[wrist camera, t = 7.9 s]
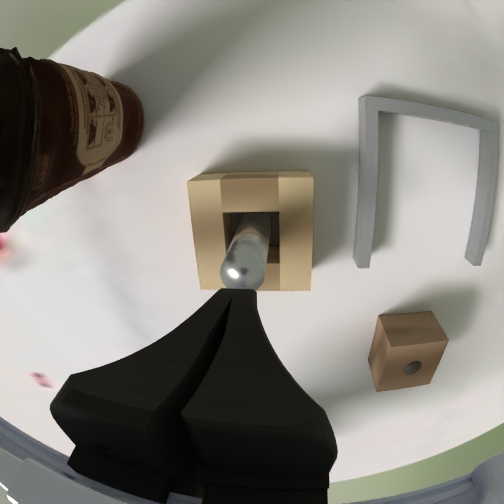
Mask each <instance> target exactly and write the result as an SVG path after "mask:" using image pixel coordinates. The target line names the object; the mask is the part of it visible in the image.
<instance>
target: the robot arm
mask: <svg viewBox="0 0 504 504" xmlns="http://www.w3.org/2000/svg"><path fill="white" fill-rule="evenodd" d="M50 411H51V414H52V416H53V418H54V420H55V421H56V423H57V424H58V425H59V426H60V428H61V429H62V430H63V431H64V432H65V434H66V435H67V436H68V437H69V438H70V439H71V441H72V442H73V443H74V444H75V445H76V446H75V448H74V450H73V452H72V454H71V456H70V457H69V456H67V455H65V454H62V453H60V452H58V451H56V450H55V449H53V448H51V447H49V446H47V445H45V444H43V443H41V442H40V441H38V440H36V439H34V438H33V437H31V436H29V435H28V434H26V433H24V432H23V431H21V430H19V429H18V428H16V427H15V426H13V425H12V424H10V423H9V422H7V421H6V420H4V419H3V418H1V417H0V485H1V486H2V487H3V488H4V489H5V490H7V496H8V499H9V500H10V501H11V502H12V503H13V504H127V503H128V504H328V498H327V489H328V488H329V472H330V470H331V468H332V466H333V464H334V462H335V460H336V458H337V453H338V450H337V444H336V439H335V436H334V432H333V430H332V427H331V424H330V422H329V420H328V417H327V415H326V413H325V410H324V409H323V408H322V407H320V406H319V405H318V404H317V403H316V402H315V401H314V400H313V399H312V398H311V397H310V396H309V395H308V394H307V393H306V392H305V391H304V390H303V389H302V388H301V387H300V386H299V384H298V383H297V382H296V381H295V380H294V378H293V377H292V376H291V374H290V373H289V372H288V371H287V369H286V368H285V367H284V365H283V364H282V362H281V361H280V359H279V358H278V356H277V354H276V353H275V351H274V349H273V347H272V345H271V343H270V342H269V339H268V337H267V335H266V333H265V330H264V328H263V325H262V323H261V320H260V316H259V313H258V309H257V292H256V291H255V290H254V289H233V288H221V289H220V290H218V291H217V292H216V293H215V294H214V295H213V296H212V297H211V298H210V299H209V300H208V301H207V302H206V303H205V304H204V305H203V306H201V307H200V308H199V309H198V310H197V311H196V312H195V313H194V314H193V315H191V316H190V317H189V318H188V319H187V320H185V321H184V322H183V323H182V324H180V325H179V326H178V327H177V328H175V329H174V330H173V331H171V332H170V333H168V334H167V335H165V336H164V337H162V338H161V339H159V340H157V341H156V342H154V343H152V344H151V345H149V346H147V347H145V348H143V349H141V350H139V351H137V352H135V353H133V354H131V355H129V356H127V357H125V358H122V359H120V360H117V361H115V362H112V363H109V364H107V365H104V366H101V367H98V368H94V369H91V370H87V371H83V372H80V373H76V374H71V375H70V376H69V378H68V379H67V381H66V382H65V383H64V385H63V386H62V388H61V389H60V391H59V392H58V394H57V395H56V397H55V398H54V400H53V401H52V403H51V404H50ZM89 488H90V489H89ZM91 489H92V490H91ZM98 492H99V493H98ZM103 494H104V495H103ZM108 496H109V497H108ZM113 498H114V499H113ZM121 501H122V502H121ZM124 502H125V503H124ZM343 504H504V451H502V452H500V453H498V454H496V455H494V456H491V457H490V458H488V459H486V460H484V461H483V462H481V463H480V464H479V465H477V466H476V467H475V468H474V469H473V470H472V472H471V473H468V474H466V475H463V476H461V477H458V478H455V479H452V480H449V481H446V482H443V483H440V484H437V485H433V486H430V487H427V488H423V489H420V490H416V491H412V492H408V493H403V494H399V495H395V496H389V497H384V498H379V499H373V500H366V501H359V502H352V503H343Z"/></svg>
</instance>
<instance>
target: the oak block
mask: <svg viewBox="0 0 504 504" xmlns="http://www.w3.org/2000/svg"><path fill="white" fill-rule="evenodd" d="M187 186H188V195H189V205H190V213H191V222H192V230H193V238H194V246H195V254H196V261H197V268H198V275H199V282H200V288H201V290H220V289H221V288H227V287H226V286H225V285H224V284H223V282H222V280H221V278H220V268H221V265H222V263H223V260H224V258H225V256H226V253H227V251H228V249H229V247H230V244H231V242H232V240H233V232H232V219H231V212H272V211H279V229H280V247H268V254H267V262H266V270H265V277H264V281H263V284H262V285H261V287H260V288H259V289H258V290H256V291H310V289H311V269H312V245H313V201H314V177H313V176H312V174H311V173H310V171H254V172H228V173H210V174H199V175H197V176H196V177H194V178H192V179H190V180H189V181H187Z"/></svg>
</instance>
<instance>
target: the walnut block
mask: <svg viewBox="0 0 504 504" xmlns="http://www.w3.org/2000/svg"><path fill="white" fill-rule="evenodd" d="M448 341H449V339H448V338H447V336H446V334H445V333H444V331H443V329H442V328H441V326H440V325H439V323H438V321H437V320H436V318H435V317H434V315H433V313H432V312H431V311H427V312H416V313H404V314H390V315H378V320H377V324H376V329H375V333H374V338H373V342H372V346H371V350H370V354H369V358H368V362H369V365H370V369H371V373H372V376H373V380H374V384H375V388H376V392H379V391H387V390H395V389H402V388H408V387H415V386H421V385H426V384H429V383H430V381H431V379H432V377H433V375H434V373H435V371H436V369H437V366H438V364H439V362H440V360H441V357H442V355H443V353H444V350H445V348H446V346H447V343H448Z"/></svg>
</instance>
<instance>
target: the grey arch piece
mask: <svg viewBox="0 0 504 504" xmlns="http://www.w3.org/2000/svg"><path fill="white" fill-rule="evenodd" d="M358 101H359V184H358V205H357V221H356V234H355V245H354V256H353V259H354V261H355V263H356V265H357V267H358V268H369V266H370V259H371V251H372V242H373V233H374V222H375V211H376V197H377V179H378V140H379V131H378V112H383V113H392V114H400V115H407V116H414V117H420V118H426V119H432V120H437V121H442V122H447V123H452V124H457V125H461V126H466V127H470V128H474V129H478V130H480V150H479V167H478V179H477V189H476V197H475V204H474V211H473V218H472V224H471V229H470V234H469V239H468V244H467V249H466V253H465V258H466V259H467V260H468V261H469V262H470V263H471V264H472V265H473V266H481V263H482V259H483V255H484V251H485V246H486V242H487V237H488V232H489V227H490V222H491V216H492V210H493V204H494V196H495V188H496V179H497V168H498V152H499V122H495V121H492V120H489V119H485V118H482V117H479V116H475V115H471V114H467V113H463V112H459V111H455V110H451V109H447V108H442V107H437V106H432V105H427V104H422V103H416V102H410V101H404V100H397V99H389V98H381V97H373V96H363V97H360V98H358Z"/></svg>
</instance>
